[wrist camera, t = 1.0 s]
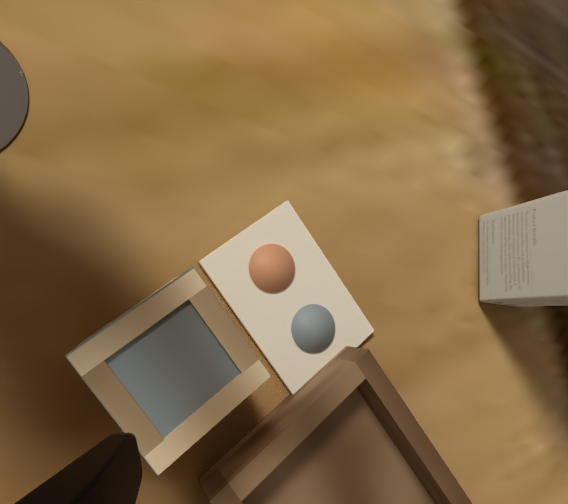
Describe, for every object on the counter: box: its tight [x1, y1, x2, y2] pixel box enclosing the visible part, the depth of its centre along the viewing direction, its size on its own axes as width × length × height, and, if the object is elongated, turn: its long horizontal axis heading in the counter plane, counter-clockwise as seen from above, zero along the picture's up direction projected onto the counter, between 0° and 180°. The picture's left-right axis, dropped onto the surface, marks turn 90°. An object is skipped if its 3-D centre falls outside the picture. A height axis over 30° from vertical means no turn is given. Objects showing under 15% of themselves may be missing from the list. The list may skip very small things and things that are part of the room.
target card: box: [198, 200, 374, 394], centre depth 23 cm, size 6×9×1 cm, turn 37°
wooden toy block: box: [65, 267, 271, 475], centre depth 18 cm, size 5×5×6 cm
